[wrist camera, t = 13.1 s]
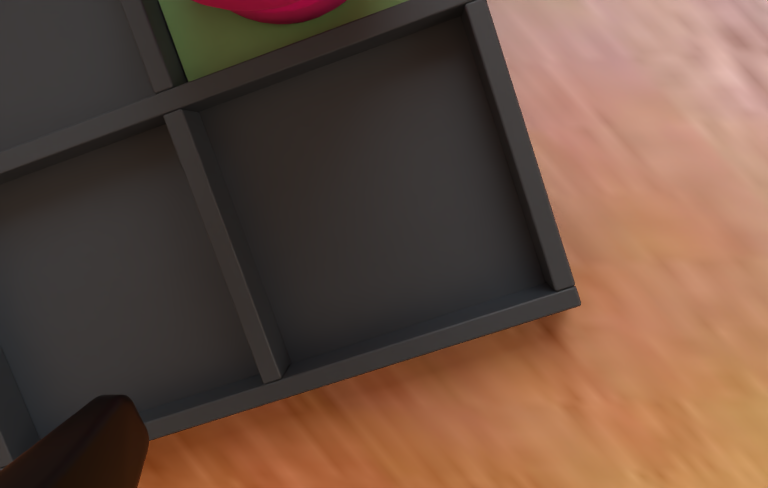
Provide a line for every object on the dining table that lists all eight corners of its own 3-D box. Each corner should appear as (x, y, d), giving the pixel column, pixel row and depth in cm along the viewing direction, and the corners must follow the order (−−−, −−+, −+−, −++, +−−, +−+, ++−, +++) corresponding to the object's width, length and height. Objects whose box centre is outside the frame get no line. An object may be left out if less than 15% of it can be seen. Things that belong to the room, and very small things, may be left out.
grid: (567, 292, 20) (582, 305, 18) (38, 459, 22) (3, 487, 20) (374, -322, 18) (369, -375, 16) (-190, -82, 20) (-251, -106, 18)
